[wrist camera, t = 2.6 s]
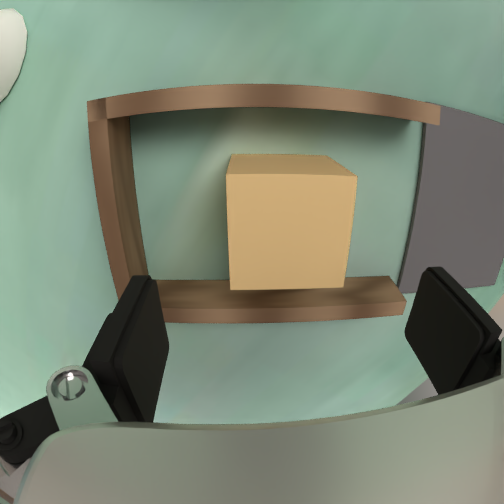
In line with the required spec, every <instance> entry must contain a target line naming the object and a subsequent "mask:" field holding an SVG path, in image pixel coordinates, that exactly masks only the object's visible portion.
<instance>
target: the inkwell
mask: <svg viewBox="0 0 504 504" xmlns="http://www.w3.org/2000/svg"><path fill="white" fill-rule="evenodd" d="M26 42H27V30H26V26H25V23H24V19H23V16H22V15H21V14H19V13H18V12H17V11H16V10H15V9H13V8H11V9H0V102H1V101H2V100H3V99H4V98H5V97H6V96H7V95H8V93H9V91H10V90H11V88H12V86H13V84H14V82H15V81H16V79H17V77H18V76H19V73H20V70H21V66H22V63H23V60H24V57H25V54H26Z"/></svg>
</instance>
